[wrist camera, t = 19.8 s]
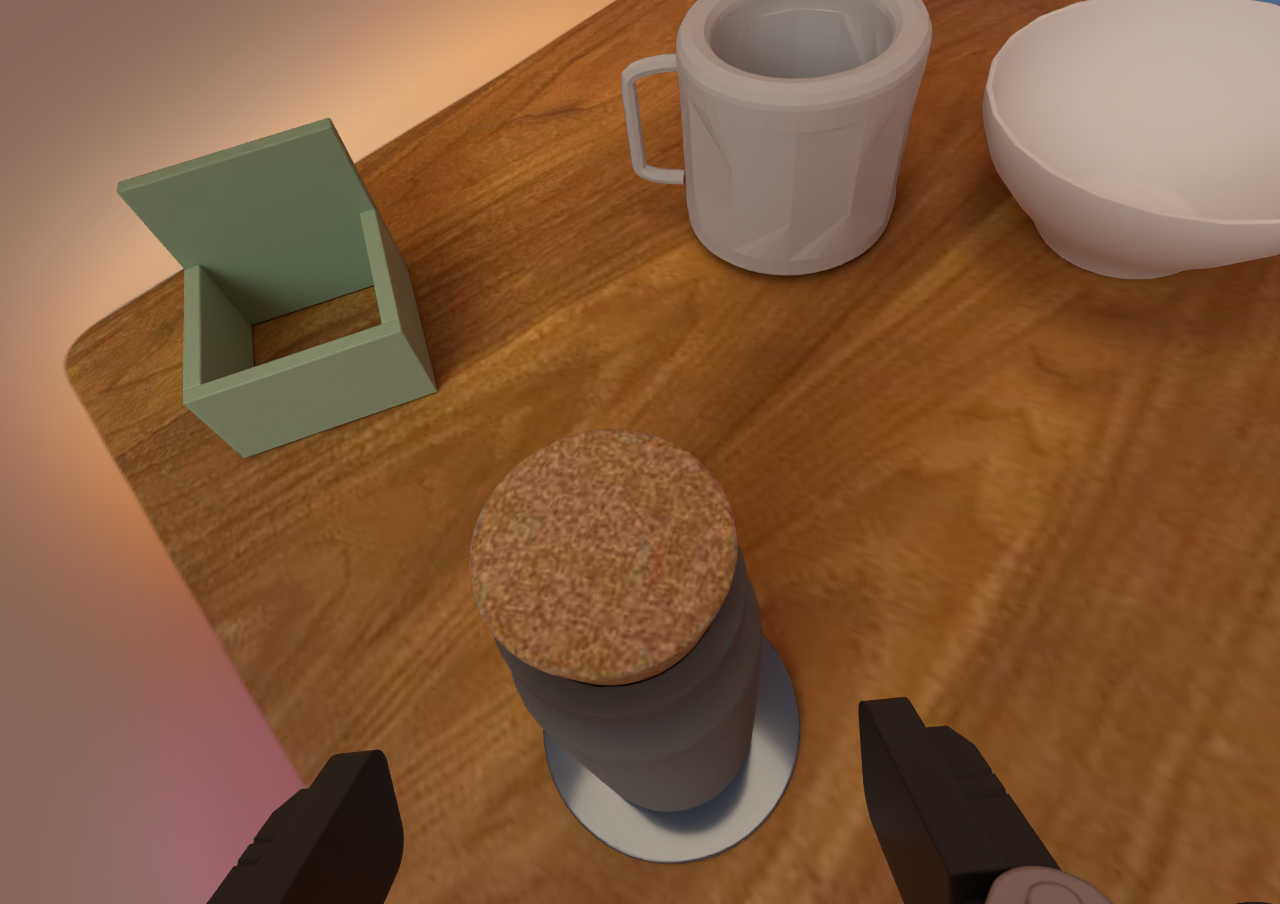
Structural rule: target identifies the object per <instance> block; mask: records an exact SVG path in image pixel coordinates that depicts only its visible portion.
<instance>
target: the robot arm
mask: <svg viewBox="0 0 1280 904" xmlns="http://www.w3.org/2000/svg"><path fill="white" fill-rule="evenodd" d="M859 728H860V742H861V756H862V771H863V784H864V792H865V798H866V803H867V807H868V811H869V815H870V819H871V822H872V825H873V827H874V830H875V832H876V835H877V837H878V840H879V842H880V845H881V847H882V850H883V852H884V855H885V857H886V860H887V862H888V865H889V867H890V870H891V872H892V875H893V877H894V880H895V882H896V885H897V887H898V890H899V892H900V895H901V897H902V900H903V902H904V904H1113V903H1112V902H1111V901H1110V900H1109V899H1108V897H1106V896H1105V895H1104V894H1103V893H1102V892H1100V891H1099V890H1098V889H1097V888H1095V887H1094V886H1092V885H1091V884H1089V883H1088V882H1086V881H1084V880H1082V879H1080V878H1078V877H1076V876H1074V875H1071V874H1069V873H1067V872H1063V871H1062V870H1061V869H1060V867H1059V866H1058V865H1057V863H1056V862H1055V860H1054V859H1053V857H1052V856H1051V854H1050V853H1049V852H1048V850H1047V849H1046V847H1045V846H1044V844H1043V843H1042V841H1041V840H1040V839H1039V837H1038V836H1037V834H1036V833H1035V831H1034V830H1033V828H1032V827H1031V826H1030V824H1029V823H1028V821H1027V820H1026V818H1025V817H1024V815H1023V814H1022V813H1021V811H1020V810H1019V808H1018V807H1017V805H1016V804H1015V802H1014V801H1013V800H1012V798H1011V797H1010V795H1009V794H1006V791H1005V788H1004V787H1003V785H1002V784H1001V782H1000V781H999V779H998V778H997V777H996V775H995V774H992V771H991V768H990V766H989V765H988V764H987V762H986V761H985V759H984V758H983V756H982V755H981V753H980V752H979V751H978V749H977V748H976V746H975V745H974V744H973V743H971V742H970V741H968V740H967V739H966V738H964V737H963V736H961V735H960V734H958V733H957V732H955V731H954V730H953V729H951V728H950V727H948V726H938V727H928V728H926V727H925V725H924V723H923V722H922V720H921V718H920V717H919V715H918V714H917V712H916V710H915V709H914V707H913V705H912V704H911V702H910V701H909V699H908V698H907V697H898V698H888V699H878V700H869V701H860V703H859ZM403 846H404V833H403V826H402V821H401V817H400V813H399V809H398V805H397V800H396V796H395V792H394V788H393V784H392V779H391V775H390V771H389V767H388V763H387V759H386V757H385V755H384V753H383V752H382V751H381V750H370V751H361V752H351V753H341V754H335V755H333V756H332V757H331V758H330V759H329V760H328V762H327V763H326V764H325V766H324V767H323V769H322V770H321V772H320V773H319V775H318V776H317V777H316V779H315V780H314V782H313V783H312V785H311V786H310V788H308V789H301V790H299V791H298V792H297V793H296V794H295V795H294V796H292V797H291V798H290V799H289V800H287V801H286V802H285V803H284V804H283V805H282V806H280V807H279V808H278V809H277V810H275V811H274V812H273V813H272V814H271V816H270V817H269V819H268V820H267V821H266V823H265V824H264V825H263V827H262V828H261V830H260V831H259V832H258V834H257V835H256V836H255V838H254V843H253V844H250V845H249V846H248V847H247V849H246V850H245V851H244V853H243V854H242V856H241V857H240V858H239V860H238V865H237V866H234V867H233V868H232V870H231V871H230V872H229V874H228V875H227V876H226V878H225V879H224V880H223V882H222V883H221V885H220V886H219V887H218V889H217V890H216V891H215V893H214V894H213V896H212V897H211V898H210V900H209V901H208V902H207V904H384V902H385V899H386V897H387V895H388V893H389V890H390V888H391V886H392V884H393V881H394V879H395V877H396V874H397V872H398V870H399V867H400V864H401V860H402V854H403ZM1237 904H1270V903H1263V902H1244V903H1237Z"/></svg>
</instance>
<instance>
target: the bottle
mask: <svg viewBox="0 0 1280 904" xmlns="http://www.w3.org/2000/svg"><path fill="white" fill-rule="evenodd" d="M469 572H470V581H471V587H472V591H473V595H474V599H475V602H476V605H477V608H478V610H479V613H480V615H481V616H482V618H483V619H484V621H485V622H486V624H487V626H488V627H489V629H490V630H491V632H492V634H493V635H494V638H495V641H496V643H497V646H498V648H499V650H500V652H501V655H502V657H503V658H504V660H505V661H506V663H507V665H508V666H509V668H510V669H511V672H512V676H513V680H514V683H515V686H516V688H517V690H518V692H519V694H520V696H521V698H522V700H523V702H524V704H525V706H526V708H527V709H528V710H529V712H530V713H531V714H532V716H533V717H534V718H535V720H536V721H537V722H538V724H539V725H540V726H541V727H542V728H543V729H544V730H545V731H546V732H547V733H548V734H549V735H550V736H551V737H552V738H553V739H554V740H555V741H556V742H557V743H558V744H559V745H560V746H562V747H563V748H564V749H565V750H566V751H567V752H568V753H570V754H571V755H572V756H573V757H574V758H575V759H576V760H578V761H579V762H580V763H581V764H582V765H583V766H585V767H586V768H587V769H588V770H589V771H590V772H591V773H593V774H594V775H595V776H596V777H597V778H598V779H600V780H601V781H602V782H603V783H605V784H606V785H607V786H608V787H610V788H611V789H612V790H613V791H615V792H616V793H617V794H618V795H620V796H621V797H623V798H625V799H626V800H628V801H630V802H632V803H633V804H635V805H637V806H640V807H644V808H647V809H651V810H655V811H665V812H673V811H683V810H687V809H691V808H694V807H697V806H699V805H702V804H704V803H706V802H708V801H710V800H711V799H713V798H715V797H716V796H717V795H718V794H720V793H721V792H722V791H724V789H725V788H726V787H727V786H728V785H729V784H730V783H731V782H732V780H733V779H734V778H735V777H736V775H737V774H738V772H739V770H740V769H741V767H742V765H743V763H744V760H745V758H746V756H747V753H748V751H749V747H750V743H751V739H752V733H753V725H754V718H755V709H756V699H757V690H758V681H759V671H760V662H761V639H762V629H761V622H760V614H759V606H758V603H757V599H756V596H755V592H754V589H753V587H752V584H751V582H750V580H749V578H748V576H747V574H746V567H745V563H744V558H743V555H742V552H741V549H740V546H739V544H738V541H737V532H736V527H735V522H734V516H733V512H732V509H731V506H730V503H729V500H728V498H727V496H726V494H725V492H724V490H723V489H722V487H721V486H720V484H719V483H718V482H717V480H716V479H715V477H714V476H713V475H712V474H711V472H710V471H709V470H708V469H707V468H706V467H705V466H704V465H703V464H702V463H701V462H700V461H699V460H698V459H697V458H695V457H694V456H693V455H692V454H690V453H689V452H688V451H686V450H684V449H682V448H681V447H679V446H677V445H675V444H674V443H672V442H670V441H668V440H665V439H662V438H659V437H657V436H654V435H651V434H647V433H643V432H639V431H631V430H616V429H607V430H594V431H589V432H585V433H580V434H576V435H572V436H569V437H566V438H563V439H560V440H558V441H555V442H553V443H550V444H548V445H547V446H545V447H543V448H541V449H540V450H538V451H536V452H535V453H533V454H531V455H529V456H528V457H527V458H526V459H524V460H523V461H522V462H521V463H519V464H518V465H517V466H516V467H514V468H513V469H512V470H511V471H510V472H509V473H508V474H507V475H506V477H505V478H504V479H503V480H502V481H501V482H500V483H499V485H498V486H497V487H496V488H495V489H494V491H493V492H492V494H491V496H490V497H489V499H488V500H487V502H486V504H485V506H484V507H483V509H482V511H481V513H480V515H479V518H478V520H477V523H476V526H475V529H474V534H473V538H472V542H471V547H470V558H469Z"/></svg>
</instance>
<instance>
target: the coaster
mask: <svg viewBox="0 0 1280 904" xmlns="http://www.w3.org/2000/svg"><path fill="white" fill-rule="evenodd" d="M543 733H544V747H545V752H546V758H547V763H548V766H549V769H550V772H551V775H552V779H553V781H554V784H555V786H556V788H557V790H558V792H559V794H560V796H561V798H562V799H563V801H564V803H565V804H566V806H567V807H568V809H569V810H570V812H571V813H572V814H573V815H574V817H575V818H576V819H577V820H578V821H579V822H580V823H581V825H582V826H583V827H584V828H585V829H587V830H588V831H589V832H590V833H591V834H592V835H593V836H595V837H596V838H597V839H599V840H600V841H602V842H603V843H605V844H606V845H608V846H609V847H611V848H613V849H615V850H617V851H619V852H621V853H623V854H626V855H628V856H630V857H634V858H637V859H640V860H644V861H647V862H654V863H662V864H685V863H691V862H697V861H702V860H705V859H708V858H711V857H714V856H718V855H720V854H722V853H724V852H726V851H728V850H730V849H732V848H734V847H736V846H737V845H739V844H740V843H741V842H743V841H744V840H746V839H747V838H748V837H750V836H751V835H752V834H753V833H754V832H755V831H756V830H757V829H758V828H760V827H761V826H762V825H763V824H764V823H765V821H766V820H767V819H768V818H769V816H770V815H771V814H772V812H773V811H774V810H775V809H776V807H777V805H778V803H779V802H780V800H781V798H782V797H783V795H784V793H785V791H786V789H787V786H788V784H789V781H790V779H791V777H792V774H793V771H794V767H795V763H796V759H797V755H798V747H799V740H800V718H799V710H798V702H797V698H796V694H795V690H794V687H793V684H792V681H791V679H790V676H789V673H788V671H787V669H786V667H785V665H784V663H783V661H782V659H781V658H780V656H779V654H778V653H777V651H776V650H775V648H774V647H773V646H772V644H771V643H770V641H769V640H768V639H767V638H766V637H765V636H764V635H763V634H762V639H761V662H760V671H759V681H758V690H757V699H756V709H755V718H754V725H753V733H752V739H751V743H750V747H749V751H748V753H747V756H746V758H745V760H744V763H743V765H742V767H741V769H740V770H739V772H738V774H737V775H736V777H735V778H734V779H733V780H732V782H731V783H730V784H729V785H728V786H727V787H726V788H725V789H724V791H722V792H721V793H720V794H718V795H717V796H716V797H715V798H713V799H711V800H710V801H708V802H706V803H704V804H702V805H699V806H697V807H694V808H691V809H687V810H683V811H673V812H665V811H655V810H651V809H647V808H644V807H640V806H637V805H635V804H633V803H632V802H630V801H628V800H626V799H625V798H623V797H621V796H620V795H618V794H617V793H616V792H615V791H613V790H612V789H611V788H610V787H608V786H607V785H606V784H605V783H603V782H602V781H601V780H600V779H598V778H597V777H596V776H595V775H594V774H593V773H591V772H590V771H589V770H588V769H587V768H586V767H585V766H583V765H582V764H581V763H580V762H579V761H578V760H576V759H575V758H574V757H573V756H572V755H571V754H570V753H568V752H567V751H566V750H565V749H564V748H563V747H562V746H560V745H559V744H558V743H557V742H556V741H555V740H554V739H553V738H552V737H551V736H550V735H549V734H548V733H547V732H546V731H545V730H544V729H543Z"/></svg>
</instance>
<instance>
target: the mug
mask: <svg viewBox="0 0 1280 904" xmlns="http://www.w3.org/2000/svg"><path fill="white" fill-rule="evenodd" d="M931 40H932V24H931V21H930V17H929V14H928V12H927V9H926V7H925V5H924V4H923V2H922V0H698V1H697V2H696V3H695V4H694V5H693V6H692V7H691V8H690V10H689V11H688V12H687V14H686V16H685V18H684V20H683V22H682V24H681V26H680V28H679V31H678V34H677V39H676V54H663V55H656V56H651V57H646V58H643V59H641V60H638V61H635V62H633V63H631V64H630V65H629V66H628V67H627V68H626V69H625V70H624V71H623V72H622V85H621V90H622V97H623V104H624V111H625V118H626V125H627V132H628V139H629V146H630V153H631V160H632V166H633V169H634V171H635V172H636V173H637V174H638V175H639V176H640V177H642V178H644V179H646V180H648V181H653V182H657V183H662V184H684V169H663V168H658V167H653V166H651V165H648V164H647V163H646V158H645V150H644V142H643V134H642V126H641V118H640V109H639V101H638V93H637V88H636V85H635V81H636V80H637V79H639V78H641V77H644V76H647V75H651V74H656V73H662V72H677V73H678V78H679V89H680V103H681V118H682V132H683V146H684V160H685V174H686V199H687V206H688V213H689V219H690V223H691V226H692V228H693V231H694V232H695V234H696V236H697V237H698V239H699V240H700V241H701V242H702V244H703V245H704V246H705V247H706V248H708V249H709V250H710V251H711V252H712V253H713V254H715V255H716V256H718V257H720V258H721V259H723V260H725V261H727V262H729V263H731V264H733V265H736V266H738V267H741V268H744V269H747V270H750V271H754V272H758V273H763V274H770V275H784V276H788V275H803V274H810V273H815V272H819V271H824V270H827V269H830V268H833V267H836V266H839V265H842V264H844V263H846V262H848V261H850V260H852V259H854V258H856V257H857V256H859V255H861V254H862V253H864V252H865V251H866V250H867V249H869V248H870V247H871V246H872V245H873V244H874V243H875V242H876V241H877V240H878V239H879V238H880V236H881V235H882V233H883V232H884V230H885V229H886V226H887V224H888V222H889V219H890V216H891V213H892V209H893V206H894V202H895V198H896V185H897V180H898V176H899V171H900V167H901V163H902V158H903V154H904V149H905V145H906V140H907V136H908V132H909V127H910V123H911V118H912V114H913V109H914V105H915V101H916V97H917V94H918V90H919V87H920V83H921V80H922V77H923V74H924V71H925V66H926V62H927V58H928V53H929V49H930V44H931Z"/></svg>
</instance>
